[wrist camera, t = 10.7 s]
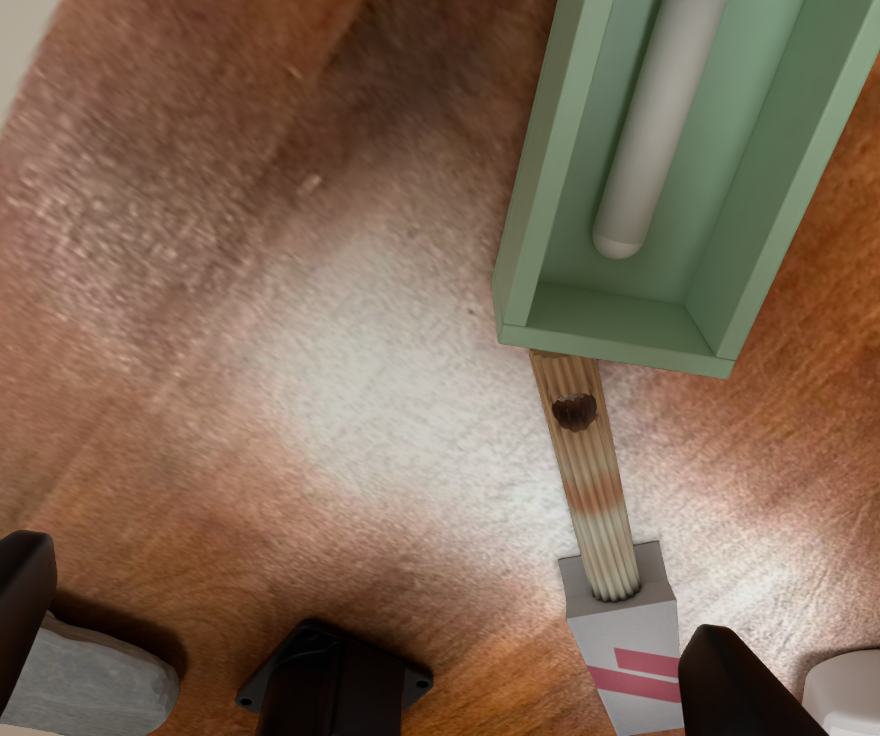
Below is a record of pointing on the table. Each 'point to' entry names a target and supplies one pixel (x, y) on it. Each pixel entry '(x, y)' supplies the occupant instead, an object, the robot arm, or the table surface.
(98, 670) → the stone
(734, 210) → the bin
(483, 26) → the table surface
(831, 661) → the eye dropper bottle
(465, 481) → the table surface
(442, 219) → the table surface
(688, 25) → the rod with rounded ends
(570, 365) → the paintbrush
